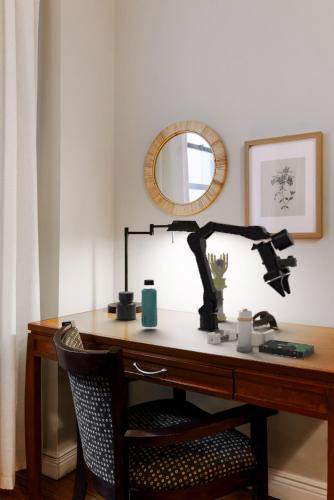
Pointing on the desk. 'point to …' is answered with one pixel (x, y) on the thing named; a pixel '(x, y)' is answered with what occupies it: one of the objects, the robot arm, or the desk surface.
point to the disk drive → (286, 348)
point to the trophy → (219, 277)
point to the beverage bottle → (149, 305)
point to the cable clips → (217, 336)
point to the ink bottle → (126, 306)
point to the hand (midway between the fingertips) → (287, 295)
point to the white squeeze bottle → (244, 331)
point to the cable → (225, 337)
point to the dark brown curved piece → (264, 319)
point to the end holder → (262, 337)
